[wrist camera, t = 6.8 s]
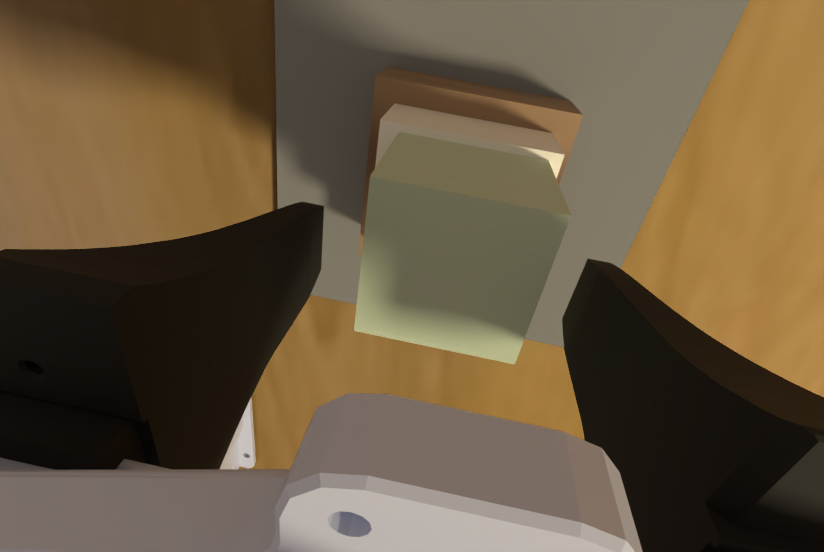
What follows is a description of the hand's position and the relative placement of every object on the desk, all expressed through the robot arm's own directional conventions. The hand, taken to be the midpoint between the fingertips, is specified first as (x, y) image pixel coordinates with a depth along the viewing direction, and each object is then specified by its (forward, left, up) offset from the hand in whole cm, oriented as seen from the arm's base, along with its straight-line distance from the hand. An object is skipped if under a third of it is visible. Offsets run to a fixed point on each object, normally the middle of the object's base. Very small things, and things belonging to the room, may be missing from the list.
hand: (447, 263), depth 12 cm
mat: (0, 0, -8) cm, 8 cm away
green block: (0, 0, -3) cm, 3 cm away
